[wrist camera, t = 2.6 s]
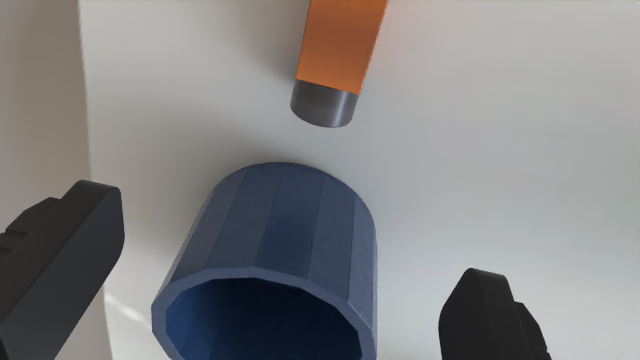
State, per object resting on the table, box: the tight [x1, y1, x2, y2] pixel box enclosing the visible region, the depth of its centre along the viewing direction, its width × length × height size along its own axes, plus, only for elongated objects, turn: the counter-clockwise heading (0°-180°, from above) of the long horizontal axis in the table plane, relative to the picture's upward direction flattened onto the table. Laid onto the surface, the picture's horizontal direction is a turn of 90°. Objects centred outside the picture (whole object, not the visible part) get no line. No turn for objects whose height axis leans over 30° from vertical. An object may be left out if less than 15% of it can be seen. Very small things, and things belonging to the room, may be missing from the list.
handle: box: [290, 0, 388, 128], centre depth 21 cm, size 8×3×3 cm, turn 168°
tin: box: [151, 163, 377, 360], centre depth 28 cm, size 13×13×9 cm
